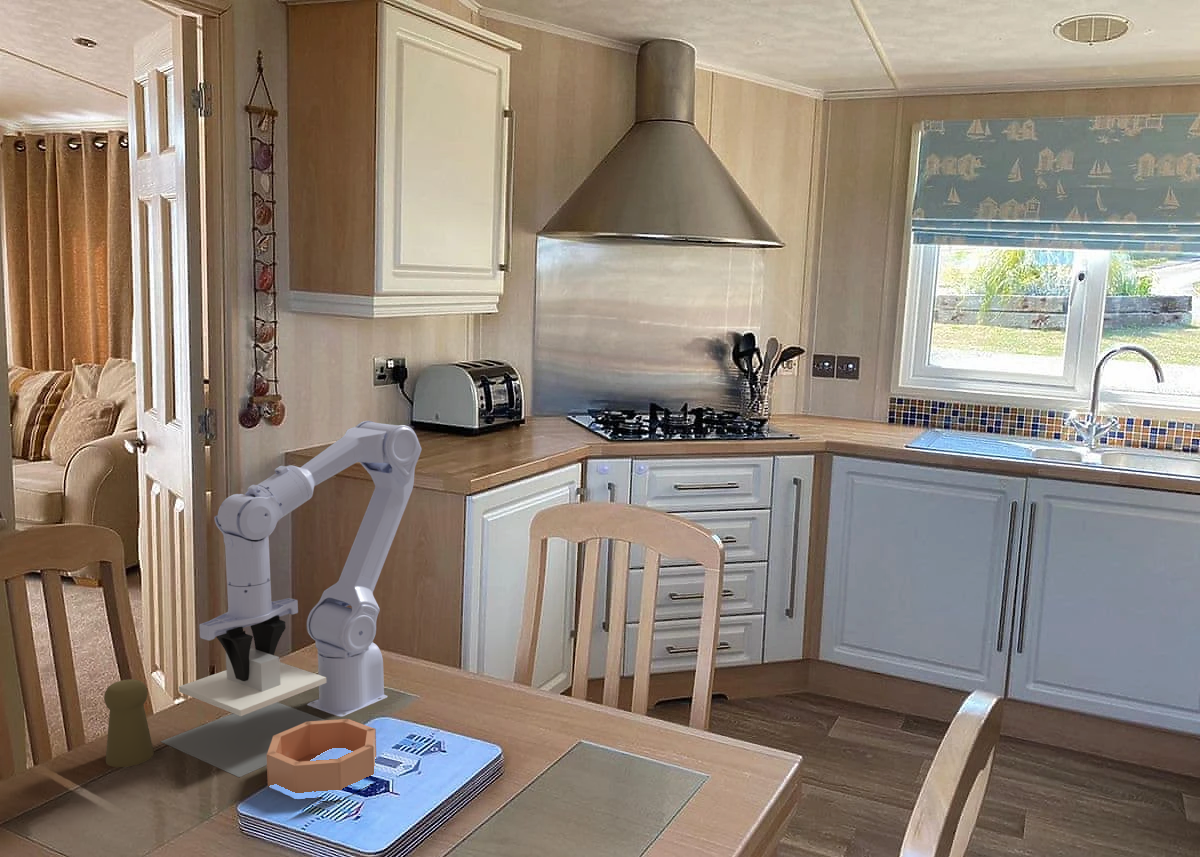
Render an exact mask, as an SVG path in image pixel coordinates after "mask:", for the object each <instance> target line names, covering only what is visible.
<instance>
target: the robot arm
mask: <svg viewBox="0 0 1200 857" xmlns="http://www.w3.org/2000/svg"><path fill="white" fill-rule="evenodd" d="M421 452H422V446H421V444H420V440H419V438H418V436H417V434H416V432H415V430H414V429H413V428H412V427H411V426H408V425H404V424H401V425H400V424H398V425H397V424H390V423H389V424H388V423H380V422H374V421H372V420H364V421H363V420H362V421H361V422H360V423H358V424H357V425H355V426H353V427H351V428H348V429H347V430H346V432H345V433H344V435H343V436H342V437H341V438H340V439H338V440H336V441H335V442H334V443H332V444H330V445H329V446H328V447H326V448H325V449H324V450H323V451H321V452H320V453H318V454H317V455H316V456H314V457H313V458H311V459H310V460H309V461H307V462H306V463H304V464H303V465H302V466H300V467H299V466H297V465H291V464H289V465H286V466H285V465H280V466H278V467H276V468H275V469H274V472H275V473H273V474H272V475H270V476H269V477H268V478H266V479H265V480H262V481H261V482H259V483H257V484H251V485H250V486H249V487H247V490H246V492H245V493H244V494H243V493H234V494H232V495H229V496H228V497H226V498H225V499H224V500H223V501H222V502H221V505H220V506H219V508H218V511H217V515H215V516H214V517H213V518H214V523H215V525H216V527H217V529H218V530H219V531H220V532H221V534H222V536H223V544H224V548H225V550H224V552H225V570H226V571H225V572H226V574H225V575H226V590H227V594H226V595H227V611H226V612H225V613H222V614H220V615H217V617H214V618H212V619H210V620H208V621H205V622H203V623H199V626H198V627H199V638H200V639H202V640H206V641H213V640H215V639H216V638H217V640H218V641H219V643H220V644H221V646H222V648H223V649H224V651H225V654H226V653H227V655H228V657H229V659H230V662H231V664H232V667H233V670H234V674H235V677H236V679H239V680H241V681H247V680H248V679H249V653H250V648H251V647H252V646H251V644H252V641H253V640H254V641H253V642H254V649H256V650H259V651H262V652H265V653H268V654H271V655H274V656H275V652H276V649H277V646H278V644H279V641H280V638H281V637H282V635H283V633H284V632H285V630H286V621H284V620H282V619H280V618H281V617H283V616H287V615H295V614H298V613H299V608H298V607H299V604H298V600H299V599H295V598H292V597H287V598H283V599H278V600H274V601H272V581H271V565H270V564H271V561H270V539H269V538H270V536H271V534H272V533H273V532H274V531H275V530H276V526H277V523H278V522H279V521H280V520H281V519H283V517H285V516H287V515H288V514H290V513H291V512H293V511H294V510H296V509H298V508H299V507H300V506H302V505H303V504H304V503H306V502H307V501H309V500H310V499H312V498H313V495H314V489H315V487H316V486H318V485H319V484H321V483H323V482H325V481H326V480H328V479H330V478H332V477H335V475H337V474H339V473H340V472H342V471H344V470H346V469H348V468H349V467H351V466H353V465H355V464H356V463H360V465H361V466H362V467H363V468H364V469H365V471H367V473H368V474H369V476H370V477H371V480H372V481H373V484H374V490H373V492H372V495H371V498H370V500H369V503H368V505H367V508H366V510H365V513H364V515H363V518H362V521H361V523H360V524H359V528H358V530H357V533H356V536H355V538H354V541H353V544H352V545H351V547H350V551H349V554H348V555H347V558H346V561H345V564H344V566H343V568H342V570H341V574H340V576H339V579H338V581H337V582H336V583H334V584H332V585H331V586H329V587H328V588H327V589H325V590H323V592H322V594H321V597H320V599H319V601H318V602H317V603H316V604H315V605H314V606H313V607H312V609H311V610H310V611H309V614H308V616H307V619H306V631H307V633H308V635H309V636H310V638H311V639H312V640H314V642H315V648H316V649H317V668H318V673H317V674H318V675H321V676H324V677H326V683H325V684H322V685H320V686H318V696H319V697H318V699H315V700H313V701H310V702H308V703H307V704H306V705H307V706H308V707H312V708H314V709H317V710H320V711H322V712H324V713H325V712H326V713H328V714H330V715H332V716H333V715H334V716H336V717H341V718H342V717H345V716H347V715H349V714H352V713H354V712H356V711H359V710H361V709H363V708H366V707H368V706H370V705H373V704H375V703H377V702H379V701H382V700H384V699H387V698H388V696H389V695H386V694H385V681H384V659H383V654H382V652H381V649H380V648H379V646H378V645H377V644H376V643H374V639H375V637H376V634H377V619H378V615H379V613H380V607H379V603H378V602H377V600H376V598H375V596H374V591H375V588H376V585H377V583H378V580H379V578H380V575H381V572H382V570H383V567H384V564H385V562H386V559H387V557H388V554H389V552H390V549H391V546H392V544H393V541H394V538H395V536H396V534H397V531H398V528H399V525H400V523H401V520H402V518H403V515H404V514H405V513H404V512H405V510H406V508H407V506H408V503H409V499H410V497H411V494H412V492H413V490H414V489H413V488H414V485H415V484H414V483H415V469H416V466H417V463H418V461H419V458H420V455H421ZM349 606H350V607H349ZM248 627H250V629H251V633H252V635H250V634H248V633H246V630H244V629H245V628H248Z"/></svg>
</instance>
